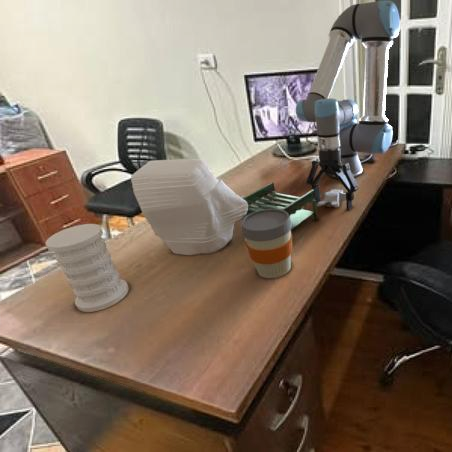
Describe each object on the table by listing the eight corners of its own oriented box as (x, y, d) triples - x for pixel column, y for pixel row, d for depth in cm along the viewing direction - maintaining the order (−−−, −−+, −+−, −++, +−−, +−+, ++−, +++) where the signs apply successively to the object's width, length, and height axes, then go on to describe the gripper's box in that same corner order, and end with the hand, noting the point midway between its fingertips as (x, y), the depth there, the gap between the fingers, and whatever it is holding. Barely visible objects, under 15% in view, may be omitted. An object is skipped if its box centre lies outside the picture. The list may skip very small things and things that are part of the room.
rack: (276, 210, 127) (271, 182, 122) (318, 219, 118) (314, 189, 113) (245, 230, 115) (239, 199, 110) (289, 241, 107) (284, 209, 101)
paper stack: (180, 229, 119) (157, 155, 107) (255, 231, 114) (240, 154, 102) (140, 265, 101) (107, 181, 88) (228, 268, 96) (205, 180, 84)
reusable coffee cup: (256, 256, 100) (247, 209, 93) (299, 254, 100) (293, 207, 93) (245, 283, 89) (233, 232, 82) (294, 281, 89) (286, 229, 82)
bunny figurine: (350, 187, 131) (340, 199, 118) (350, 200, 133) (340, 213, 120) (326, 186, 134) (313, 197, 120) (326, 199, 136) (314, 211, 122)
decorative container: (131, 299, 87) (103, 236, 78) (76, 319, 82) (41, 254, 73) (126, 277, 96) (101, 218, 87) (77, 293, 90) (45, 233, 82)
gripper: (292, 147, 121) (299, 203, 131) (356, 154, 109) (358, 215, 119) (305, 142, 126) (310, 196, 136) (367, 148, 114) (368, 207, 124)
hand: (333, 205), depth 128 cm, fingers open, 13 cm apart
